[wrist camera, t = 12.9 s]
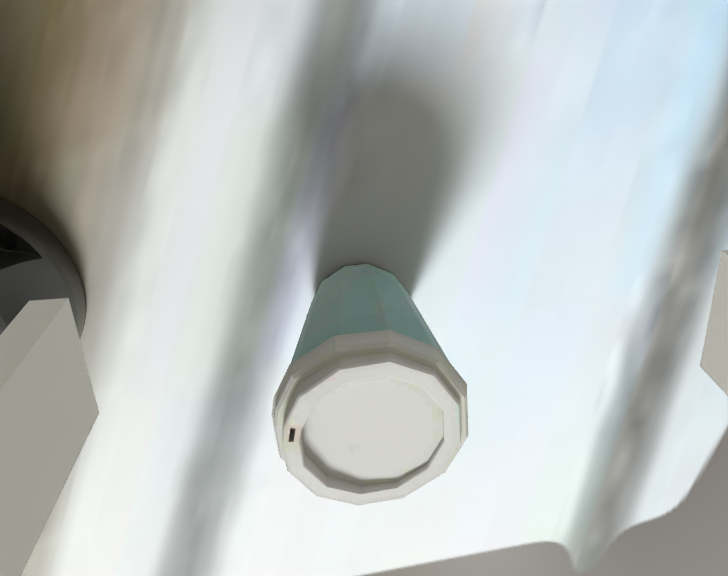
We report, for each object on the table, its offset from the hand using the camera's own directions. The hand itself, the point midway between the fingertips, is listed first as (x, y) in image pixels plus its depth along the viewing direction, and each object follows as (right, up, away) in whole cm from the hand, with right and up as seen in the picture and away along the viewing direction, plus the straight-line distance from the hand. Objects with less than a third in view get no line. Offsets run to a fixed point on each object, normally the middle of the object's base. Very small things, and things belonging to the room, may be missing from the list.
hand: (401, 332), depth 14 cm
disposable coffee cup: (-1, 0, +34) cm, 34 cm away
